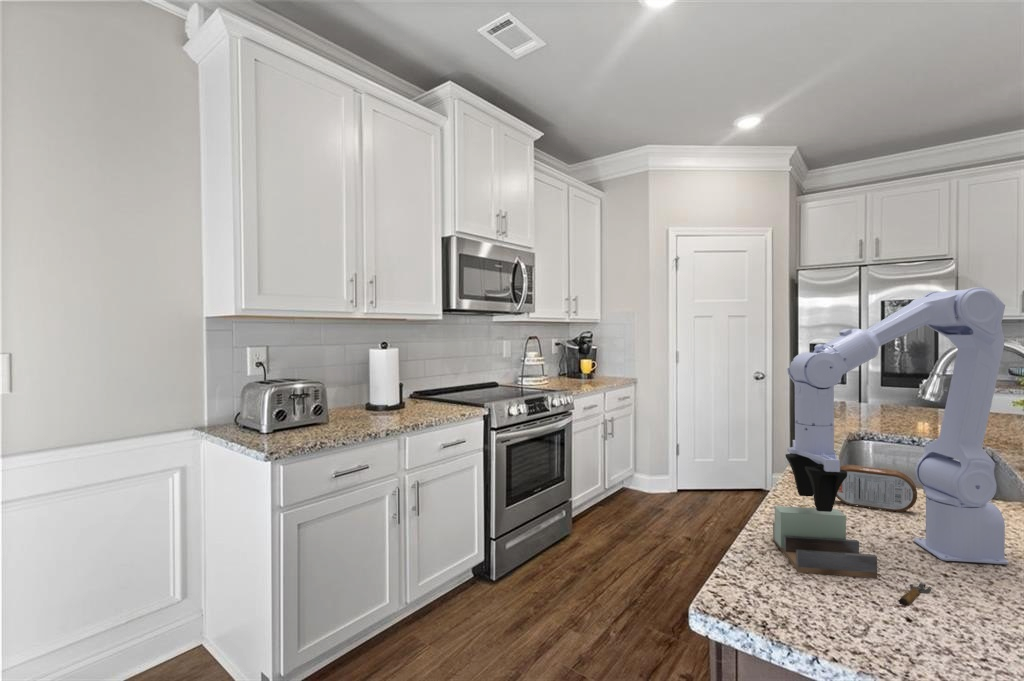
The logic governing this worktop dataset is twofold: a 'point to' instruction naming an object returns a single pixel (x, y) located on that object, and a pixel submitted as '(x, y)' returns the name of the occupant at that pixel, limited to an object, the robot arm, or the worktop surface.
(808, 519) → the tall sage green block
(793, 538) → the rack
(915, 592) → the can opener
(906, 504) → the tin
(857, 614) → the worktop surface
